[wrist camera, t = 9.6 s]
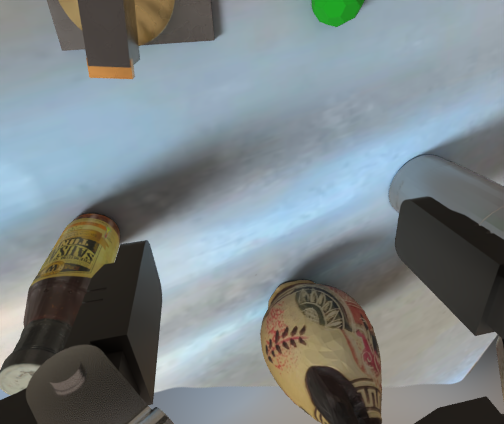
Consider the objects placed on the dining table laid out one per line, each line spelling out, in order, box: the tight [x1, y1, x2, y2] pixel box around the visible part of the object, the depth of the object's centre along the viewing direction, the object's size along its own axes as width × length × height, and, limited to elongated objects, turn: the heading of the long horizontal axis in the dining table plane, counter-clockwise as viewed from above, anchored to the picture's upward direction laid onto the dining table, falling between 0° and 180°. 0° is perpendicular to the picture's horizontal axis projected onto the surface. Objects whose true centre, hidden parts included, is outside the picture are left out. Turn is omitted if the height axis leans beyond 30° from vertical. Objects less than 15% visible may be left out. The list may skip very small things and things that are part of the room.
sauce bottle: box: [0, 213, 120, 395], centre depth 32 cm, size 7×6×20 cm
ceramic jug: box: [260, 280, 382, 424], centre depth 40 cm, size 17×16×30 cm
